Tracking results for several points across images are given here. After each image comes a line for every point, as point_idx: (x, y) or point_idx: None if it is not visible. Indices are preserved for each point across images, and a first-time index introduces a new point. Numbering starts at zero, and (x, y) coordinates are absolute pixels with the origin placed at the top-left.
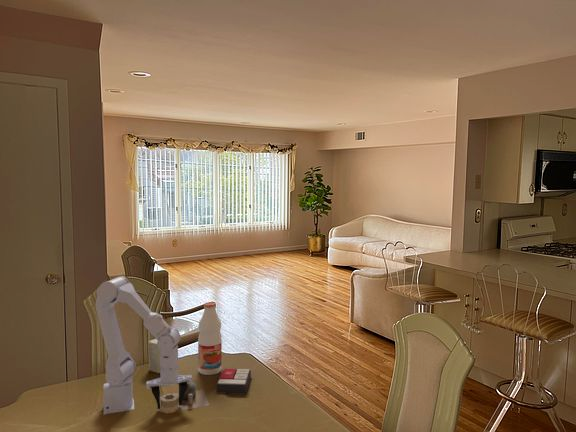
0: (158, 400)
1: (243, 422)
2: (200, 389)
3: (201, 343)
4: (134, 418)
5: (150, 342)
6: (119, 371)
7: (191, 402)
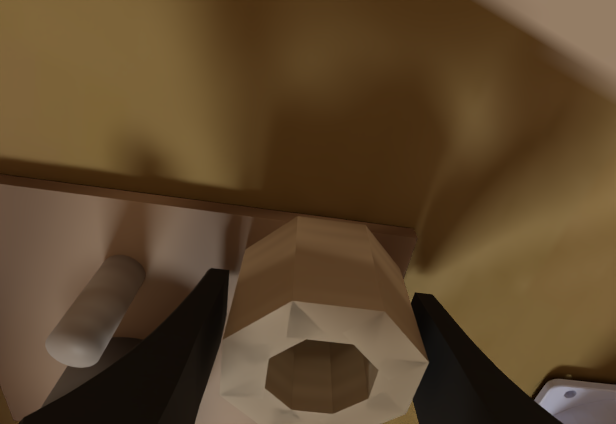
0: (473, 364)
1: None
2: None
3: None
4: (608, 286)
5: None
6: None
7: (101, 273)
